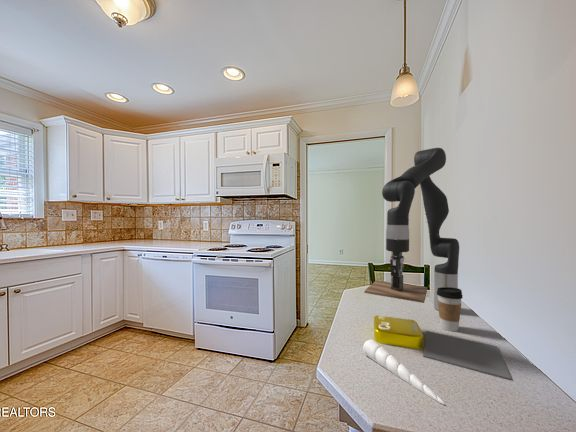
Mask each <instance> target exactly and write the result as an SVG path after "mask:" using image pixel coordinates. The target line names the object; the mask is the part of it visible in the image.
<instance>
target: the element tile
mask: <svg viewBox="0 0 576 432" xmlns="http://www.w3.org/2000/svg"><path fill="white" fill-rule="evenodd" d="M373 340H374V341H376V342H377V343H378V344H383V345H388V346H389V345H390V346H395V347H401V348H406V349H412V350H424V334H423V332H422V330H421V328H420V326H419V324H418V322H417V321H415V320H414V319H410V318H409V319H407V318H400V317H394V316H393V317H390V316H385V315H375V316H373Z"/></svg>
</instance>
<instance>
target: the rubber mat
mask: <svg viewBox="0 0 576 432" xmlns="http://www.w3.org/2000/svg"><path fill="white" fill-rule="evenodd" d="M424 341H425V342H424V346H423V354H422V357H423V358H427V359H431V360H433V361H438V362H442V363H446V364H449V365H453V366H457V367H460V368H465V369H467V370H471V371H475V372H479V373H483V374H487V375H491V376H494V377H497V378H502V379H506V380H510V381H512V377H511V375H510V373H509V371H508V368H507V366H506V364H505V361H504V359H503V357H502V355H501V352H500V350H499V348H498V346H497V345H494V344H493V345H492V344H488V343H483V342H479V341H474V340H469V339H465V338H460V337H455V336H452V335H448V334H442V333H438V332H434V331H428V330H426V334H425V340H424Z"/></svg>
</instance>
